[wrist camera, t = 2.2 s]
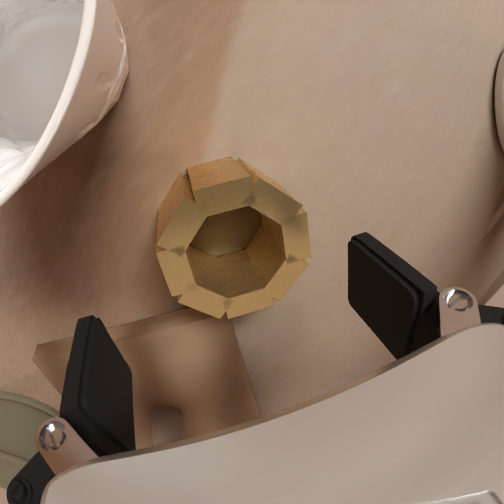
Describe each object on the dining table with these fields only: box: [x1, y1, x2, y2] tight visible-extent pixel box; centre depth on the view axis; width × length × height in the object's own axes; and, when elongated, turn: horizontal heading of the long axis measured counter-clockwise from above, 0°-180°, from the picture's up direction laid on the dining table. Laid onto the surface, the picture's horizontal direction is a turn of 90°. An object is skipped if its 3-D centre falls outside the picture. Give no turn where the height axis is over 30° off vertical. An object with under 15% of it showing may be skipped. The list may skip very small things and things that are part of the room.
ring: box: [156, 157, 311, 319], centre depth 15 cm, size 7×7×4 cm
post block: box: [32, 307, 261, 450], centre depth 19 cm, size 14×17×10 cm
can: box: [0, 392, 60, 490], centre depth 19 cm, size 12×12×7 cm
